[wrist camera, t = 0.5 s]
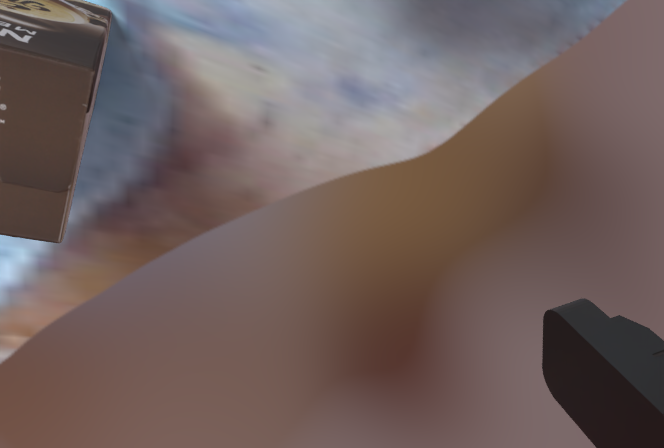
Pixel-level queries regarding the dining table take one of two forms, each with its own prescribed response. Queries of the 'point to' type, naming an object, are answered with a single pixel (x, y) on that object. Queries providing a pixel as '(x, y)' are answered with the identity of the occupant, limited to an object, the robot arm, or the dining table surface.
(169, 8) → the dining table surface
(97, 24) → the coffee box
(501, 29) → the dining table surface
